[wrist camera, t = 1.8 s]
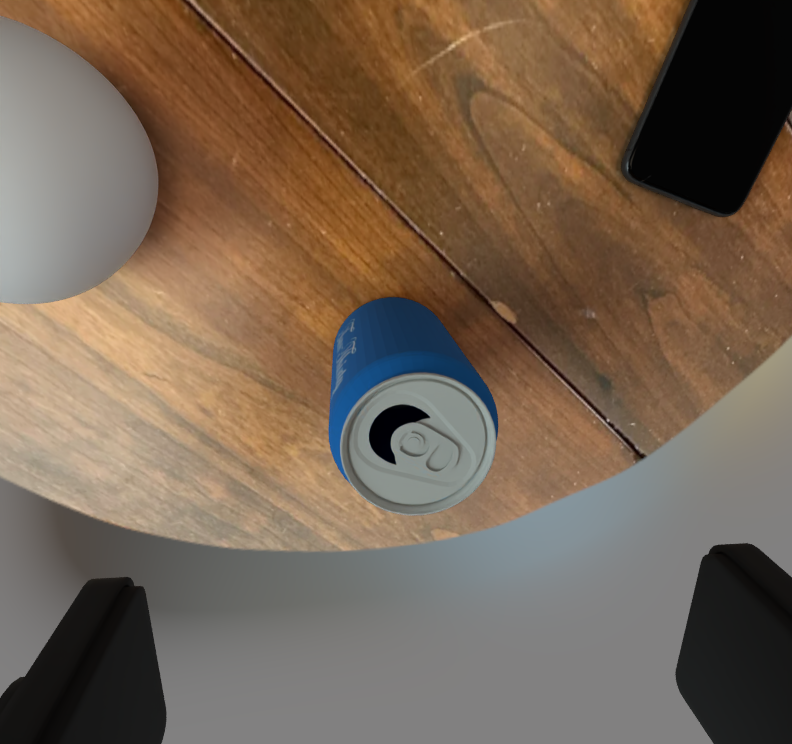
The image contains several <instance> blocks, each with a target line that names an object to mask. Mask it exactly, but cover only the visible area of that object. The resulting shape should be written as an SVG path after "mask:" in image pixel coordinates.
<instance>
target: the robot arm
mask: <svg viewBox="0 0 792 744" xmlns="http://www.w3.org/2000/svg"><path fill="white" fill-rule="evenodd" d="M676 682H677V685H678V688H679V691H680V693H681V695H682V696H683V698H684V699H685V701H686V703H687V704H688V706H689V707H690V709H691V710H692V712H693V713H694V714H695V716H696V718H697V719H698V721H699V722H700V724H701V725H702V727H703V728H704V730H705V731H706V733H707V734H708V736H709V737H710V739H711V740H712V742H713V743H714V744H792V577H791V576H789V575H788V574H787V573H786V572H785V571H784V570H783V569H781V568H780V567H779V566H778V565H777V564H775V563H774V562H773V561H772V560H771V559H770V558H769V557H768V556H766V555H765V554H764V553H763V552H762V551H761V550H760V549H758V548H757V547H755V546H754V545H752V544H748V543H745V544H725V545H716V546H713V547H712V548H711V549H710V551H709V554H708V555H705V556H704V557H703V559H702V561H701V565H700V569H699V573H698V578H697V582H696V586H695V590H694V595H693V599H692V603H691V608H690V612H689V616H688V621H687V625H686V629H685V633H684V638H683V642H682V646H681V650H680V655H679V659H678V663H677V668H676ZM165 727H166V706H165V701H164V695H163V690H162V683H161V678H160V672H159V667H158V661H157V655H156V649H155V644H154V638H153V632H152V627H151V621H150V616H149V610H148V605H147V599H146V593H145V589H144V588H143V587H142V586H134V583H133V581H132V579H131V578H129V577H120V578H102V579H91V580H89V581H88V582H87V583H86V584H85V585H84V586H83V588H82V590H81V591H80V593H79V594H78V596H77V597H76V599H75V600H74V602H73V603H72V605H71V606H70V608H69V609H68V611H67V613H66V614H65V616H64V617H63V619H62V620H61V622H60V623H59V625H58V626H57V628H56V630H55V631H54V633H53V634H52V636H51V637H50V639H49V640H48V642H47V643H46V645H45V647H44V648H43V650H42V651H41V653H40V654H39V656H38V658H37V659H36V660H35V662H34V664H33V665H32V667H31V668H30V670H29V671H28V673H27V674H26V676H25V677H20V678H19V679H17V680H16V681H14V682H13V683H12V684H11V685H10V686H9V687H8V688H7V690H6V691H5V692H4V693H3V695H2V696H1V698H0V744H161V743H162V740H163V736H164V732H165Z"/></svg>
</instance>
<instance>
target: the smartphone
mask: <svg viewBox="0 0 792 744" xmlns="http://www.w3.org/2000/svg"><path fill="white" fill-rule="evenodd" d="M791 110H792V0H691V1H690V3H689V5H688V8H687V10H686V12H685V14H684V17H683V19H682V21H681V24H680V26H679V28H678V31H677V33H676V35H675V38H674V40H673V42H672V45H671V47H670V49H669V52H668V54H667V56H666V58H665V61H664V63H663V65H662V68H661V70H660V72H659V75H658V77H657V79H656V82H655V84H654V86H653V89H652V91H651V93H650V96H649V98H648V100H647V102H646V105H645V107H644V109H643V112H642V114H641V116H640V119H639V121H638V123H637V126H636V128H635V130H634V133H633V135H632V137H631V140H630V142H629V144H628V146H627V149H626V151H625V153H624V156H623V159H622V164H621V170H622V174H623V176H624V177H625V178H626V179H627V180H628V181H629V182H631V183H633V184H635V185H638V186H640V187H643V188H645V189H648V190H650V191H653V192H655V193H658V194H661V195H663V196H666V197H668V198H671V199H674V200H676V201H679V202H681V203H684V204H686V205H689V206H691V207H694V208H696V209H699V210H702V211H704V212H707V213H709V214H712V215H715V216H718V217H728V216H731V215H733V214H735V213H736V212H737V211H738V210H739V209H740V208H741V207H742V206H743V204H744V202H745V201H746V199H747V197H748V195H749V193H750V191H751V189H752V187H753V185H754V183H755V181H756V179H757V177H758V175H759V173H760V171H761V169H762V167H763V165H764V163H765V161H766V159H767V157H768V155H769V153H770V152H771V150H772V148H773V146H774V144H775V142H776V140H777V138H778V136H779V134H780V132H781V130H782V128H783V126H784V124H785V122H786V120H787V118H788V116H789V114H790V112H791Z"/></svg>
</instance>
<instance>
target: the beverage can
mask: <svg viewBox="0 0 792 744" xmlns="http://www.w3.org/2000/svg"><path fill="white" fill-rule="evenodd" d="M497 435H498V415H497V410H496V405H495V402H494V399H493V397H492V394H491V393H490V391H489V389H488V387H487V385H486V384H485V383H484V381H483V380H482V378H481V377H480V376H479V374H478V373H477V372H476V370H475V369H474V367H473V366H472V365H471V363H470V362H469V360H468V359H467V358H466V356H465V355H464V353H463V352H462V351H461V349H460V348H459V347H458V345H457V344H456V342H455V341H454V340H453V338H452V337H451V335H450V334H449V333H448V331H447V330H446V328H445V327H444V326H443V324H442V323H441V322H440V320H439V319H438V318H437V316H436V315H435V314H434V313H433V312H432V311H430V310H429V309H428V308H426V307H425V306H423V305H421V304H420V303H417V302H415V301H412V300H409V299H405V298H398V297H388V298H381V299H377V300H374V301H371V302H369V303H366V304H364V305H363V306H361V307H359V308H358V309H357V310H355V311H354V312H353V313H352V314H351V315H350V316H349V317H348V318H347V319H346V320H345V322H344V323H343V324H342V326H341V328H340V329H339V331H338V334H337V336H336V339H335V343H334V350H333V364H332V381H331V399H330V416H329V443H330V448H331V452H332V455H333V458H334V460H335V462H336V464H337V466H338V468H339V470H340V471H341V473H342V474H343V476H344V477H345V478H346V480H347V481H348V482H349V483H350V484H351V485H352V486H353V487H354V489H355V490H356V491H357V492H358V493H359V494H360V495H361V496H362V497H363V498H364V499H366V500H367V501H368V502H370V503H371V504H373V505H375V506H376V507H379V508H381V509H383V510H386V511H389V512H392V513H396V514H401V515H426V514H432V513H436V512H440V511H443V510H445V509H448V508H450V507H452V506H454V505H456V504H458V503H460V502H461V501H463V500H464V499H465V498H467V497H468V496H469V495H470V494H472V493H473V492H474V491H475V490H476V489H477V488H478V486H479V485H480V484H481V483H482V481H483V480H484V478H485V477H486V475H487V474H488V472H489V470H490V468H491V465H492V462H493V459H494V455H495V450H496V440H497Z"/></svg>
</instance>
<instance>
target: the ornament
mask: <svg viewBox="0 0 792 744" xmlns="http://www.w3.org/2000/svg"><path fill="white" fill-rule="evenodd" d="M157 197H158V170H157V164H156V159H155V155H154V152H153V149H152V146H151V143H150V140H149V138H148V136H147V134H146V131H145V129H144V127H143V126H142V124H141V122H140V120H139V119H138V117H137V115H136V114H135V112H134V111H133V109H132V108H131V106H130V105H129V104H128V102H127V101H126V100H125V99H124V97H123V96H122V95H121V94H120V92H119V91H118V90H117V89H116V88H115V87H114V86H113V85H112V84H111V83H110V82H109V81H108V80H107V79H106V78H105V77H104V76H103V75H102V74H101V73H100V72H99V71H98V70H97V69H96V68H94V67H93V66H92V65H91V64H90V63H88V62H87V61H86V60H85V59H83V58H82V57H81V56H79V55H78V54H77V53H75V52H74V51H72V50H71V49H69V48H68V47H66V46H65V45H63V44H62V43H60V42H58V41H57V40H55V39H53V38H52V37H50V36H48V35H46V34H44V33H42V32H40V31H38V30H36V29H34V28H32V27H30V26H27V25H25V24H23V23H20V22H17V21H15V20H12V19H9V18H6V17H3V16H0V302H4V303H14V304H39V303H48V302H54V301H59V300H63V299H67V298H70V297H73V296H76V295H78V294H81V293H83V292H85V291H88V290H90V289H92V288H93V287H95V286H97V285H99V284H100V283H102V282H103V281H105V280H106V279H108V278H109V277H110V276H112V275H113V274H114V273H115V272H117V271H118V270H119V269H120V268H121V267H122V266H123V265H124V264H125V263H126V262H127V261H128V260H129V259H130V258H131V256H132V255H133V254H134V253H135V251H136V250H137V249H138V247H139V246H140V244H141V243H142V241H143V239H144V237H145V235H146V234H147V231H148V229H149V227H150V225H151V222H152V219H153V216H154V213H155V209H156V204H157Z"/></svg>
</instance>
